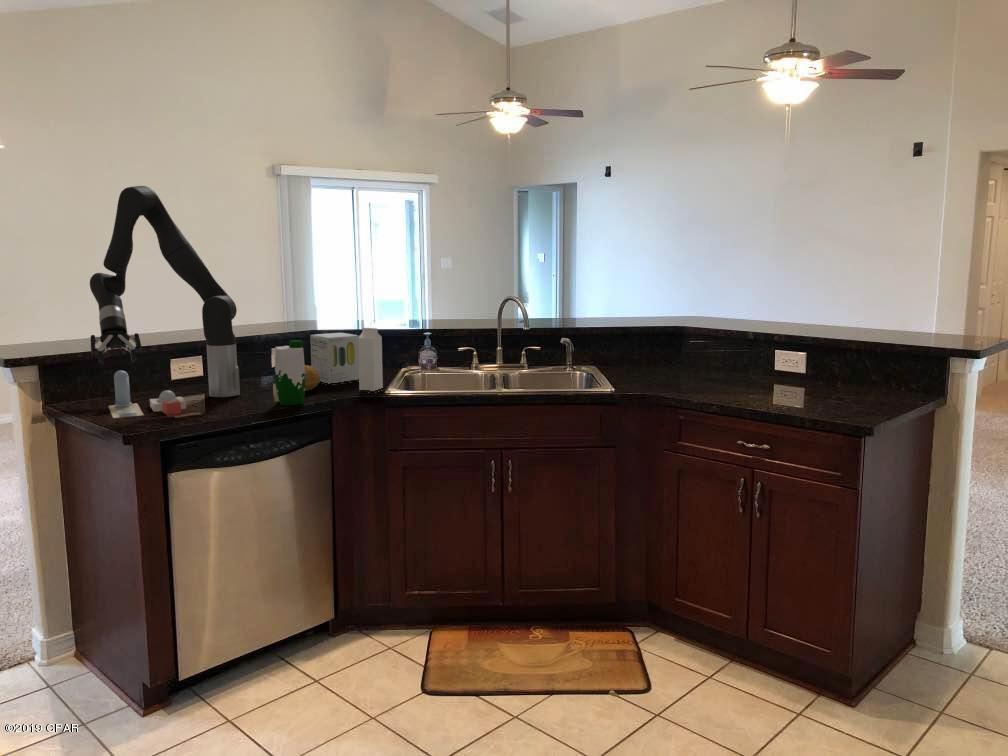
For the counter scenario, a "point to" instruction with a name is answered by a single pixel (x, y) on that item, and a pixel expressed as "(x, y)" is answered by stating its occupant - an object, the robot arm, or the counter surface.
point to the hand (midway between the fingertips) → (118, 362)
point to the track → (126, 411)
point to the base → (158, 406)
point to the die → (171, 408)
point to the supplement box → (335, 357)
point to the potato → (311, 377)
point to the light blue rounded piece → (167, 396)
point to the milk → (370, 360)
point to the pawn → (122, 389)
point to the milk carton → (290, 373)
